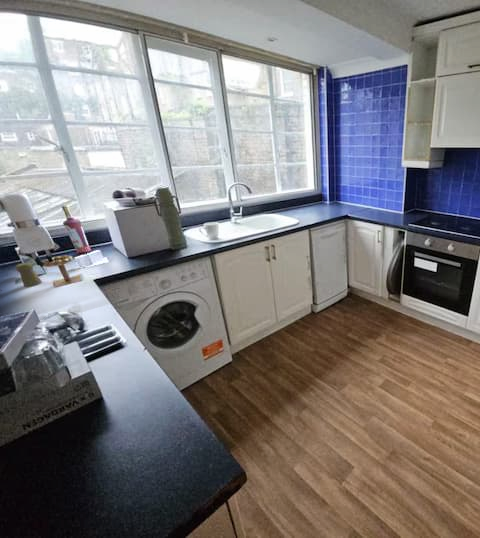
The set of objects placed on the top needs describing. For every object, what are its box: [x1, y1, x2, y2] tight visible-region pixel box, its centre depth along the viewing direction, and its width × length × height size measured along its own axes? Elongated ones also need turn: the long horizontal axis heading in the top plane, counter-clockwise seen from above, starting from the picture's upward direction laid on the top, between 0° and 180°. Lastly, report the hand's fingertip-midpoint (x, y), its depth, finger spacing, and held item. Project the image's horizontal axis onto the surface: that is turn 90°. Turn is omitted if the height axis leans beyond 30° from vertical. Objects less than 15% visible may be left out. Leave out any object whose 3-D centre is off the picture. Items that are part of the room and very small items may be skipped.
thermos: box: [152, 187, 188, 251], centre depth 172 cm, size 9×12×35 cm
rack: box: [53, 260, 83, 288], centre depth 133 cm, size 9×9×11 cm
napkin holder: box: [74, 249, 110, 268], centre depth 156 cm, size 15×11×6 cm
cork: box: [14, 262, 43, 288], centre depth 131 cm, size 6×6×11 cm
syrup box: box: [14, 246, 47, 277], centre depth 143 cm, size 6×6×14 cm
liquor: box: [61, 204, 92, 255], centre depth 169 cm, size 7×7×28 cm
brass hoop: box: [41, 255, 74, 268], centre depth 130 cm, size 10×10×2 cm
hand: (46, 265), depth 128 cm, fingers closed on brass hoop, 2 cm apart
